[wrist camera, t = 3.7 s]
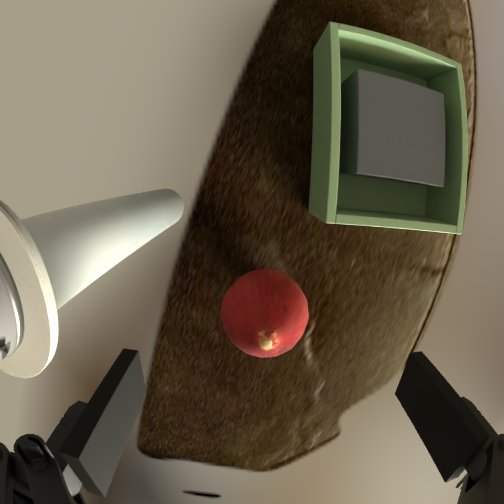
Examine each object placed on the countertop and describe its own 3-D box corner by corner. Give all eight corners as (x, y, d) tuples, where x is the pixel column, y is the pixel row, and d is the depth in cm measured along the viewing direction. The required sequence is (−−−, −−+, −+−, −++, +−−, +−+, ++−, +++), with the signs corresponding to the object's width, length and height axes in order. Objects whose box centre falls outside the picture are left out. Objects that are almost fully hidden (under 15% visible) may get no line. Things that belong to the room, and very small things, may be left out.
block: (337, 173, 20) (356, 173, 16) (339, 84, 18) (357, 68, 15) (415, 184, 20) (444, 187, 17) (416, 102, 19) (443, 93, 15)
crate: (308, 212, 21) (325, 223, 17) (313, 49, 18) (329, 20, 13) (426, 222, 22) (461, 234, 17) (428, 78, 18) (461, 64, 14)
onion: (310, 304, 23) (336, 360, 16) (248, 335, 24) (249, 400, 16) (277, 243, 22) (293, 279, 14) (211, 278, 23) (194, 329, 15)
